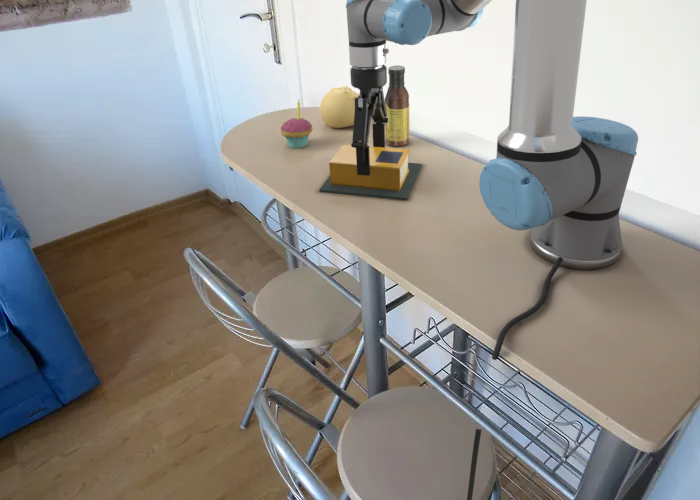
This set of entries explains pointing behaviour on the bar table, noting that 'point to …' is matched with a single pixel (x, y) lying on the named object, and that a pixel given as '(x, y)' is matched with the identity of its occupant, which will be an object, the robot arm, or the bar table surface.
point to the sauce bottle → (397, 108)
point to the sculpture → (339, 107)
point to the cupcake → (296, 130)
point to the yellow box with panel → (384, 168)
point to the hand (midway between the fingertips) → (371, 162)
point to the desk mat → (379, 193)
